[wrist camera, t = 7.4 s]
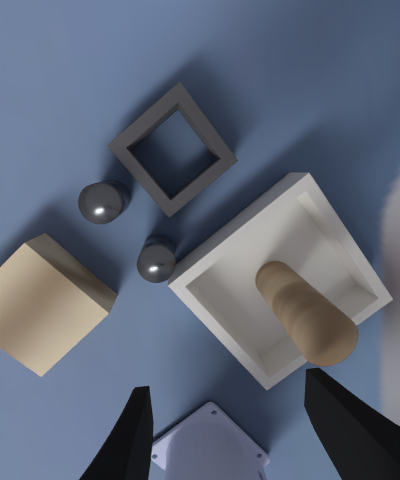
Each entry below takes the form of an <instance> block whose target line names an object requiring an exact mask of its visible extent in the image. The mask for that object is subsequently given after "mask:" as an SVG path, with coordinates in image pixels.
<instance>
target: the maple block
mask: <svg viewBox="0 0 400 480" xmlns="http://www.w3.org/2000/svg"><path fill="white" fill-rule="evenodd" d="M117 296H118V295H117V294H116V293H115V292H114V291H112V290H111V289H110V288H109V287H108V286H107V285H105V284H104V283H103V282H102V281H101V280H100V279H98V278H97V277H96V276H95V275H94V274H93V273H92V272H90V271H89V270H88V269H87V268H86V267H85V266H83V265H82V264H81V263H80V262H79V261H78V260H76V259H75V258H74V257H73V256H72V255H71V254H69V253H68V252H67V251H66V250H65V249H64V248H63V247H61V246H60V245H59V244H58V243H57V242H56V241H54V240H53V239H52V238H51V237H50V236H49V235H47V234H46V233H44V234H42V235H40V236H38V237H35V238H33V239H31V240H29V241H27V242H25V243H24V244H23V245H22V246H21V247H20V248H19V249H18V250H17V251H16V252H15V253H14V254H13V255H12V256H11V257H10V258H9V259H8V260H7V261H6V262H5V263H4V264H3V265H2V266H1V267H0V348H1V349H2V350H4V351H5V352H6V353H8V354H9V355H11V356H12V357H14V358H15V359H16V360H18V361H19V362H21V363H22V364H23V365H25V366H26V367H28V368H29V369H31V370H32V371H33V372H35V373H36V374H38V375H39V376H40V377H42V376H43V375H44V374H45V373H46V372H47V371H48V370H49V369H50V368H51V367H52V366H53V365H54V364H55V363H57V362H58V361H59V360H60V359H61V358H62V357H63V356H64V355H65V354H66V353H67V352H68V351H69V350H70V349H72V348H73V347H74V346H75V345H76V344H77V343H78V342H79V341H80V340H81V339H82V338H83V337H84V336H85V335H87V334H88V333H89V332H90V331H91V330H92V329H93V328H94V327H95V326H96V325H97V324H98V323H99V322H100V321H102V320H103V319H104V318H105V317H106V316H107V315H108V314H109V313H110V311H111V308H112V306H113V304H114V302H115V300H116V298H117Z"/></svg>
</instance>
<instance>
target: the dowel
mask: <svg viewBox="0 0 400 480" xmlns="http://www.w3.org/2000/svg"><path fill="white" fill-rule="evenodd" d="M255 283H256V287H257V289H258V290H259V292H260V293H261V295H262V296H263V298H264V299H265V301H266V302H267V303H268V305H269V306H270V308H271V309H272V311H273V312H274V314H275V315H276V317H277V318H278V319H279V321H280V322H281V324H282V325H283V327H284V328H285V330H286V331H287V333H288V334H289V335H290V337H291V338H292V340H293V341H294V343H295V344H296V346H297V347H298V349H299V350H300V351H301V353H302V354H303V356H304V357H305V359H306V360H307V361H309V362H310V363H312V364H314V365H318V366H331V365H335V364H337V363H339V362H341V361H343V360H344V359H346V358H347V357H348V356H349V355H350V354H351V353H352V352H353V350H354V348H355V346H356V344H357V341H358V330H357V327H356V325H355V323H354V322H353V321H352V320H351V319H350V318H349V317H348V316H347V315H345V314H344V313H343V312H342V311H341V310H340V309H338V308H337V307H336V306H335V305H334V304H332V303H331V302H330V301H329V300H328V299H327V298H325V297H324V296H323V295H322V294H321V293H320V292H318V291H317V290H316V289H315V288H314V287H312V286H311V285H310V284H309V283H308V282H307V281H305V280H304V279H303V278H302V277H301V276H300V275H298V274H297V273H296V272H295V271H294V270H293V269H291V268H290V267H289V266H288V265H287V264H285V263H283V262H280V261H271V262H268V263H266V264H264V265H263V266H262V267H261V268H260V269H259V270H258V272H257V274H256V278H255Z"/></svg>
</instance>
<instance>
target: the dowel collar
mask: <svg viewBox="0 0 400 480" xmlns="http://www.w3.org/2000/svg"><path fill="white" fill-rule="evenodd" d="M177 110H179V111H180V112H181V114H182V115H183V116H184V118H185V119H186V120H187V122H188V123H189V124H190V126H191V127H192V128H193V130H194V131H195V132H196V134H197V135H198V136H199V138H200V139H201V140H202V142H203V143H204V144H205V146H206V147H207V148H208V149H209V151H210V152H211V153H212V155H213V156H214V157H215V159H216V161H214V162H213V163H212V164H211V165H210V166H208V167H207V168H206V169H205V170H204V171H203V172H201V173H200V174H199V175H198V176H197V177H195V178H194V179H193V180H192V181H191V182H189V183H188V184H187V185H186V186H185V187H183V188H182V189H181V190H180V191H179V192H177V193H176V194H175V195H174V196H173V197H170V196H169V195H168V194H167V192H166V191H165V190H164V189H163V188H162V186H161V185H160V184H159V183H158V182H157V180H156V179H155V178H154V177H153V176H152V175H151V173H150V172H149V171H148V170H147V169H146V167H145V166H144V165H143V164H142V163H141V161H140V160H139V159H138V158H137V157H136V155H135V154H134V153H133V152H132V151H131V150H132V149H133V148H134V147H135V146H136V145H138V144H139V143H140V142H141V141H142V140H143V139H144V138H146V137H147V136H148V135H149V134H150V133H151V132H152V131H154V130H155V129H156V128H157V127H158V126H159V125H160V124H162V123H163V122H164V121H165V120H166V119H167V118H169V117H170V116H171V115H172V114H173V113H174V112H175V111H177ZM107 146H108V147H109V149H110V150H111V151H112V152H113V153H114V154H115V156H116V157H117V158H118V159H119V160H120V161H121V163H122V164H123V165H124V166H125V167H126V168H127V169H128V171H129V172H130V173H131V174H132V175H133V176H134V178H135V179H136V180H137V181H138V182H139V183H140V185H141V186H142V187H143V188H144V189H145V190H146V192H147V193H148V194H149V195H150V196H151V197H152V198H153V200H154V201H155V202H156V203H157V204H158V205H159V207H160V208H161V209H162V210H163V211H164V212H165V214H166V215H167V216H168V217H169V218H170V217H171V216H172V215H173V214H175V213H176V212H177V211H178V210H179V209H181V208H182V207H183V206H184V205H185V204H187V203H188V202H189V201H190V200H191V199H193V198H194V197H195V196H196V195H197V194H199V193H200V192H201V191H202V190H203V189H205V188H206V187H207V186H208V185H209V184H211V183H212V182H213V181H214V180H216V179H217V178H218V177H219V176H220V175H222V174H223V173H224V172H225V171H226V170H228V169H229V168H230V167H231V166H232V165H234V164H235V163H236V162H237V161H238V160H237V158H236V157H235V156H234V154H233V153H232V152H231V150H230V149H229V148H228V146H227V145H226V143H225V142H224V141H223V139H222V138H221V137H220V135H219V134H218V132H217V131H216V130H215V128H214V127H213V126H212V124H211V123H210V122H209V120H208V119H207V117H206V116H205V115H204V113H203V112H202V111H201V109H200V108H199V107H198V105H197V104H196V102H195V101H194V100H193V98H192V97H191V96H190V94H189V93H188V92H187V90H186V89H185V87H184V86H183V85H182V83H181V82H178V83H177V84H176V85H175V86H174V87H173V88H172V89H171V90H169V91H168V92H167V93H166V94H165V95H164V96H163V97H162V98H160V99H159V100H158V101H157V102H156V103H155V104H154V105H152V106H151V107H150V108H149V109H148V110H147V111H146V112H145V113H143V114H142V115H141V116H140V117H139V118H138V119H137V120H136V121H134V122H133V123H132V124H131V125H130V126H129V127H128V128H127V129H125V130H124V131H123V132H122V133H121V134H120V135H119V136H117V137H116V138H115V139H114V140H113V141H112V142H111V143H110V144H108V145H107Z"/></svg>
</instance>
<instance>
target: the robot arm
mask: <svg viewBox="0 0 400 480" xmlns="http://www.w3.org/2000/svg"><path fill="white" fill-rule="evenodd" d="M304 406H305V409H306V411H307V414H308V416H309V418H310V421H311V423H312V425H313V428H314V430H315V432H316V434H317V435H318V437H319V439H320V441H321V443H322V445H323V446H324V448H325V450H326V452H327V454H328V455H329V457H330V459H331V461H332V462H333V464H334V466H335V468H336V470H337V471H338V473H339V475H340V477H341V479H342V480H400V426H398V425H396V424H395V423H393V422H392V421H390V420H389V419H387V418H386V417H384V416H383V415H381V414H380V413H379V412H377V411H376V410H374V409H373V408H371V407H370V406H369V405H367V404H366V403H364V402H363V401H362V400H360V399H359V398H358V397H356V396H355V395H354V394H352V393H351V392H350V391H348V390H347V389H346V388H344V387H343V386H342V385H341V384H339V383H338V382H337V381H336V380H334V379H333V378H332V377H330V376H329V375H328V374H327V373H325V372H324V371H323V370H321V369H320V368H312V369H306V382H305V400H304ZM212 411H214V412H212ZM151 460H153V461H154V462H155V463H156V464H157V465H159V466H160V467H161V468H162V469H164V470H165V480H267V479H266V476H265V472H264V469H263V467H264V466H266V465H267V464H268V463H269V462H270V458H269V455H268V454H267V453H266V452H265V451H264V450H263V449H262V448H260V447H259V446H258V445H257V444H256V443H255V442H254V441H253V440H252V439H251V438H250V437H249V436H248V435H247V434H246V433H245V432H244V431H243V430H242V429H241V428H240V427H239V426H238V425H237V424H236V423H235V422H234V421H232V420H231V419H230V418H229V417H228V416H227V415H226V414H225V413H224V412H223V411H222V410H221V409H220V408H219V407H218V406H217V405H216V404H215V403H213V402H208V403H206V404H205V405H204V406H202V407H201V408H200V409H198V410H197V411H195V412H194V413H193V414H191V415H190V416H189V417H187V418H186V419H185V420H183V421H182V422H181V423H179V424H178V425H176V426H175V427H174V428H172V429H171V430H170V431H168V432H167V433H166V434H164V435H163V436H162V437H160V438H159V439H157V440H156V441H155V442H153V415H152V406H151V397H150V389H149V386H143V387H135V388H134V389H133V391H132V393H131V396H130V398H129V400H128V402H127V404H126V406H125V408H124V410H123V412H122V414H121V415H120V417H119V419H118V421H117V422H116V424H115V426H114V428H113V430H112V431H111V433H110V435H109V436H108V438H107V439H106V441H105V443H104V444H103V446H102V447H101V449H100V450H99V452H98V454H97V455H96V457H95V458H94V459H93V461H92V462H91V464H90V465H89V467H88V468H87V469H86V471H85V472H84V474H83V475H82V476H81V478H80V479H79V480H148V476H149V469H150V462H151Z"/></svg>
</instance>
